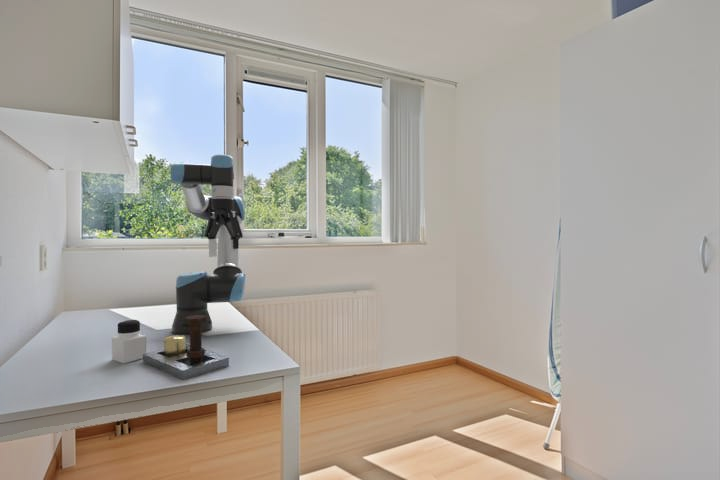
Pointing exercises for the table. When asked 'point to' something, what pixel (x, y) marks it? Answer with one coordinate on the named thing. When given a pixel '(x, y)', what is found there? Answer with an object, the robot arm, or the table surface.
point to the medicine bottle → (128, 342)
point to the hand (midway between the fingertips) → (223, 257)
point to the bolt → (195, 338)
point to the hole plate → (183, 359)
